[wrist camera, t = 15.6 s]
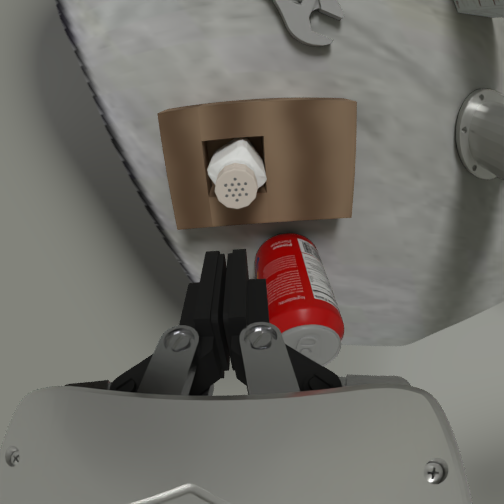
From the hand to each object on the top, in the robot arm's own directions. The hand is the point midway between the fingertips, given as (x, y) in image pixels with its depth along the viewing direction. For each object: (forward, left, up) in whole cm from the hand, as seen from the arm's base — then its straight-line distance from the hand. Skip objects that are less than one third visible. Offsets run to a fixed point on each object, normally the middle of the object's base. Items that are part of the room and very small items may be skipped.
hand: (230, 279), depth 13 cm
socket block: (-2, 0, -21) cm, 21 cm away
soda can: (-5, +13, -21) cm, 25 cm away
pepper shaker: (0, 0, -20) cm, 20 cm away
